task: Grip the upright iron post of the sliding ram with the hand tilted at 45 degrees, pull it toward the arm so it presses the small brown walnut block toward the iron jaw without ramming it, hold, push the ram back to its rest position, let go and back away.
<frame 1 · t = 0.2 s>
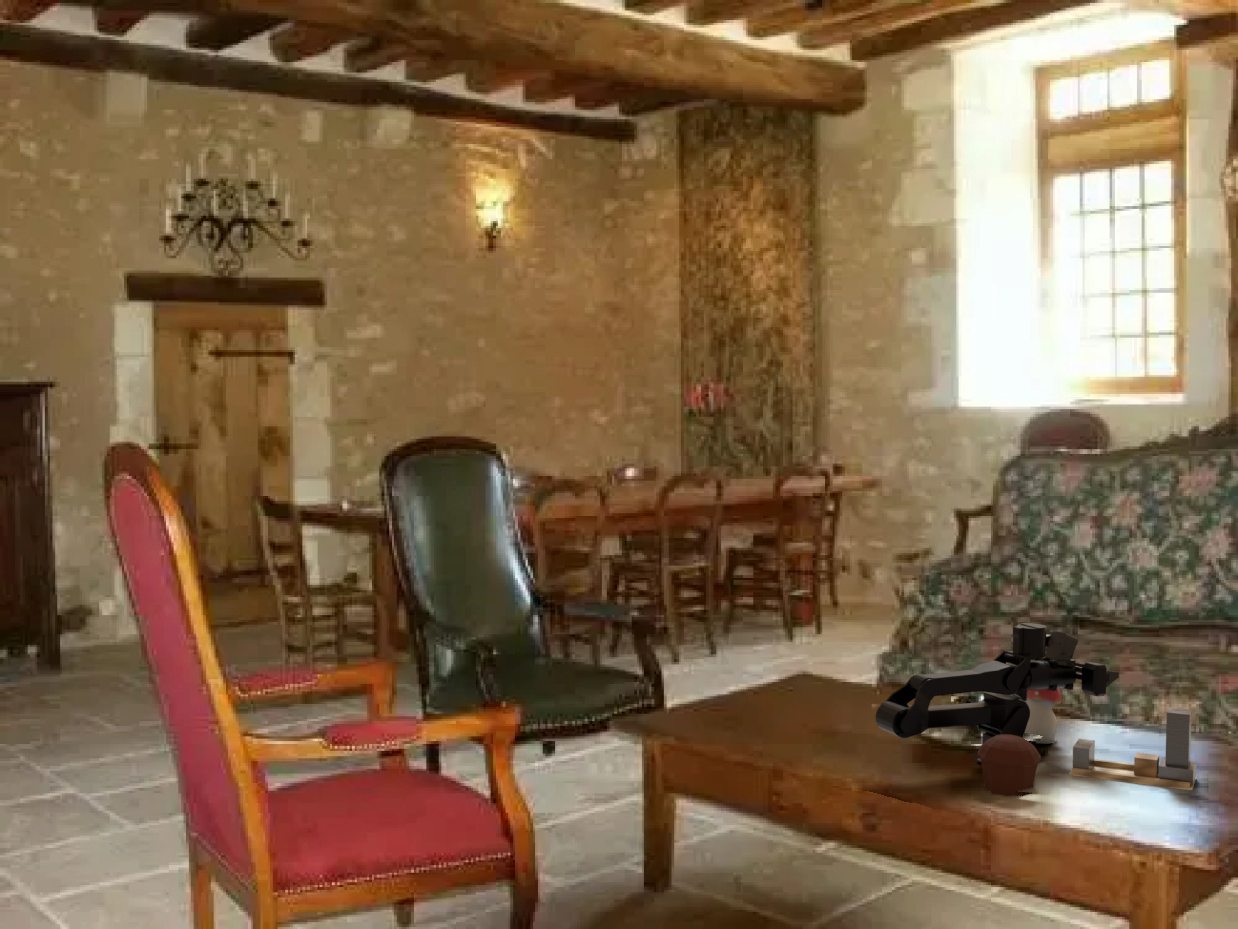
hand: (1102, 671, 287), 17 cm above the table, tool horizontal, fingers open, 9 cm apart
walnut block: (1146, 777, 266), point 1 cm above the table, touching wooden tray
muffin: (1008, 790, 262), on the table
wooden tray: (1132, 781, 267), on the table
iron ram: (1178, 745, 263), point 8 cm above the table, slide at 0.0 cm
decorative ornament: (1039, 742, 295), on the table, touching gripper
iron jaw: (1083, 775, 272), resting on wooden tray
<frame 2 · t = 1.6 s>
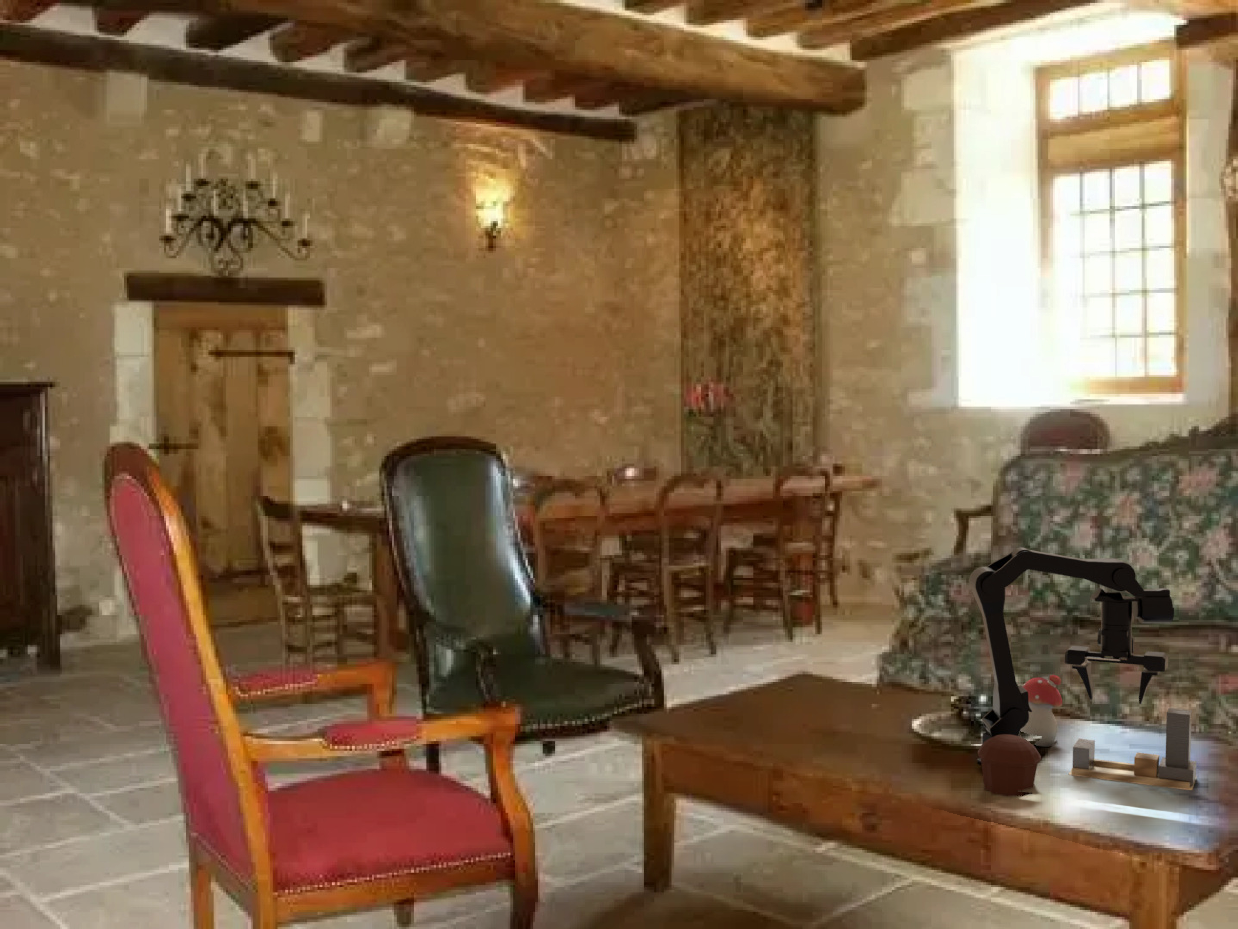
hand: (1115, 701, 277), 13 cm above the table, tool pointing down, fingers open, 9 cm apart
decorative ornament: (1039, 744, 295), on the table
everything else where it was.
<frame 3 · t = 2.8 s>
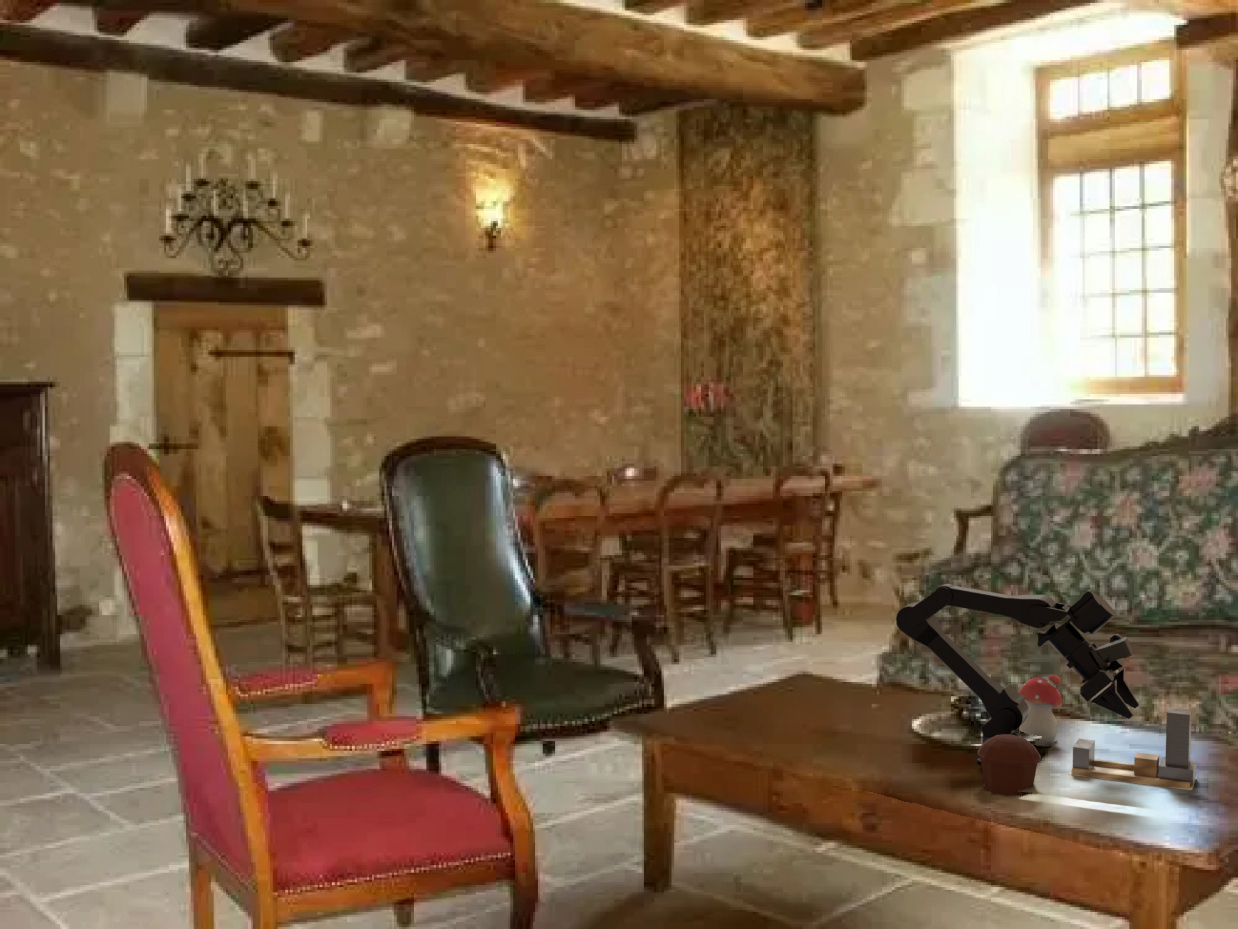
hand: (1134, 712, 267), 13 cm above the table, tool tilted 45°, fingers open, 9 cm apart
nothing on the table moved.
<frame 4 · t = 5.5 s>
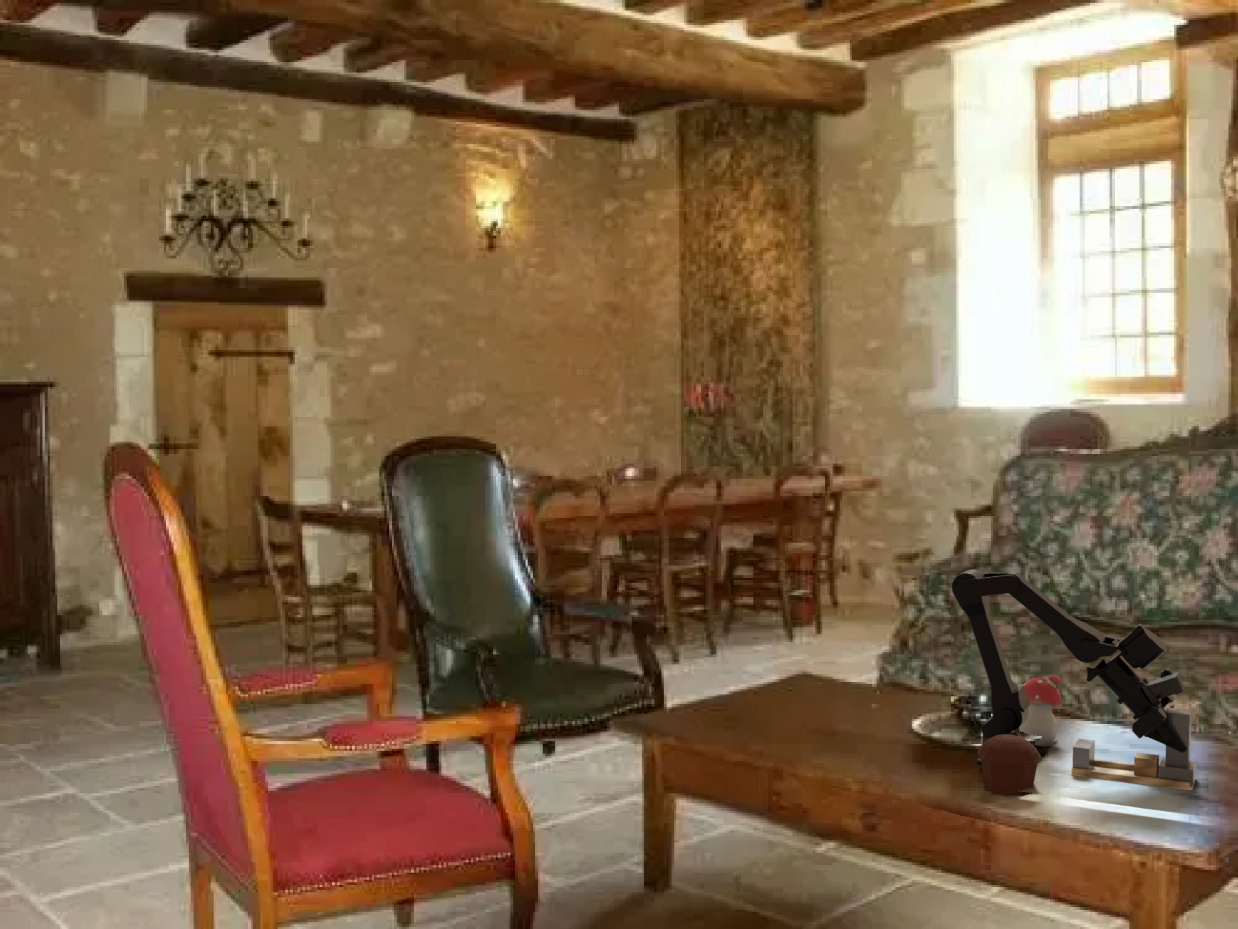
hand: (1186, 748, 263), 8 cm above the table, tool tilted 45°, fingers closed on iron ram, 4 cm apart
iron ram: (1178, 745, 263), point 8 cm above the table, slide at 0.0 cm, touching gripper
everything else where it was.
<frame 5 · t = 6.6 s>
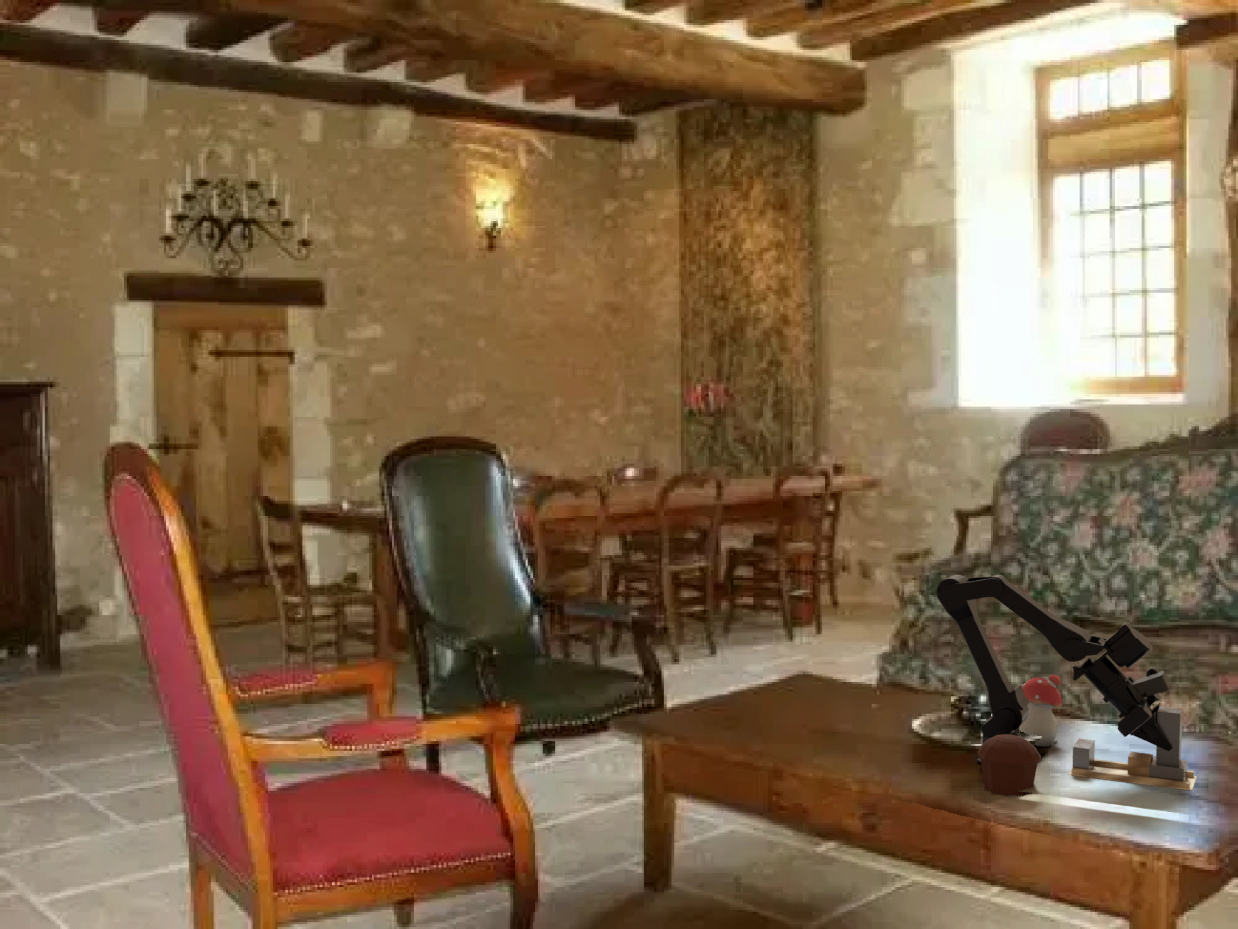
hand: (1171, 746, 264), 8 cm above the table, tool tilted 45°, fingers closed on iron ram, 4 cm apart
walnut block: (1139, 776, 267), point 1 cm above the table, touching wooden tray
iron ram: (1169, 744, 264), point 8 cm above the table, slide at 1.6 cm, touching gripper
everything else where it was.
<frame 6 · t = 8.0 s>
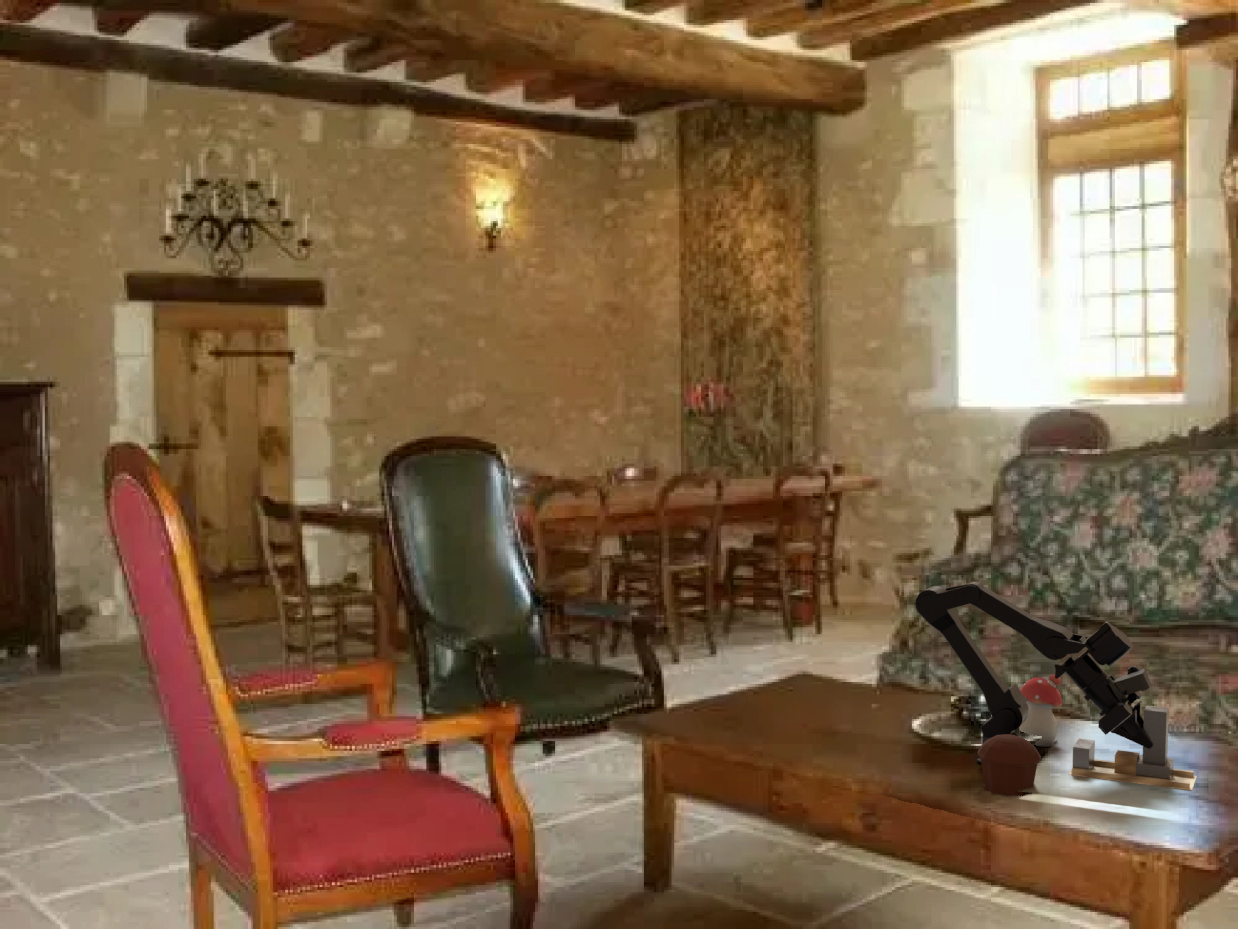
hand: (1152, 744, 265), 8 cm above the table, tool tilted 45°, fingers closed on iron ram, 4 cm apart
walnut block: (1126, 774, 268), point 1 cm above the table, touching wooden tray, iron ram
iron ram: (1155, 742, 265), point 8 cm above the table, slide at 4.0 cm, touching gripper, walnut block
everything else where it was.
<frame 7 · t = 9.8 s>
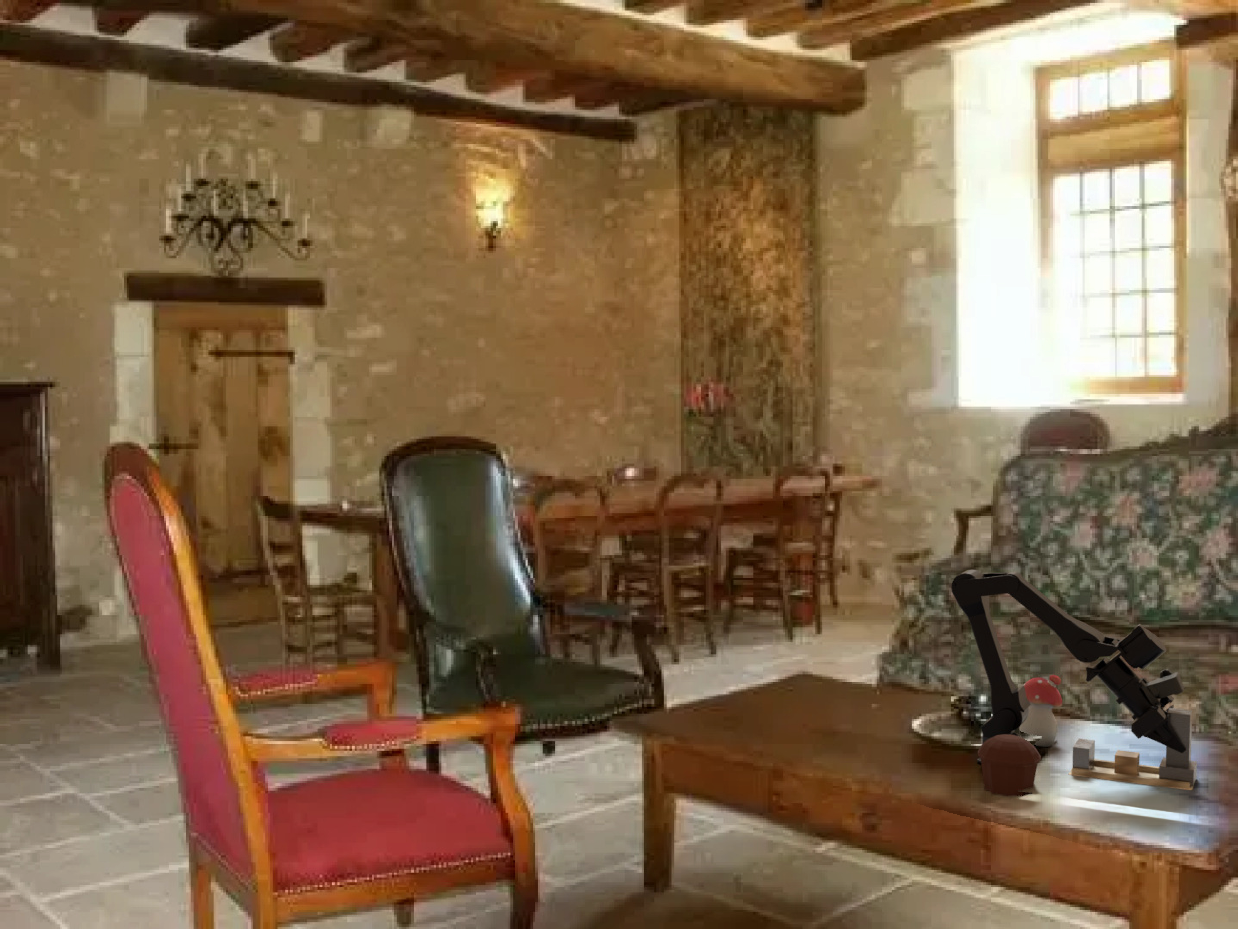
hand: (1185, 748, 263), 8 cm above the table, tool tilted 45°, fingers closed on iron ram, 4 cm apart
walnut block: (1126, 774, 268), point 1 cm above the table, touching wooden tray
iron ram: (1178, 745, 263), point 8 cm above the table, slide at -0.1 cm, touching gripper
everything else where it was.
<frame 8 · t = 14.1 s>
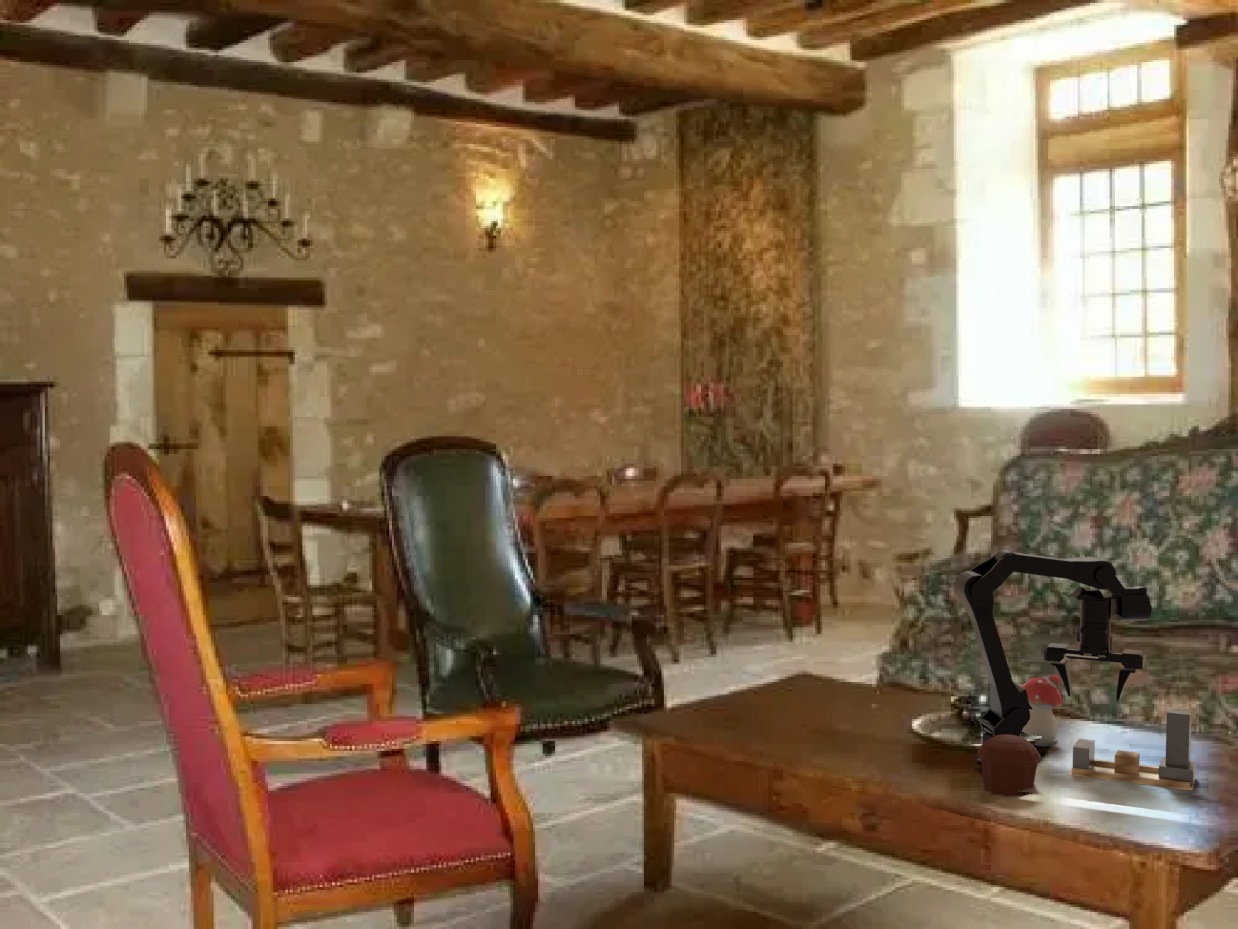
hand: (1093, 698, 279), 13 cm above the table, tool pointing down, fingers open, 9 cm apart
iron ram: (1178, 745, 263), point 8 cm above the table, slide at 0.0 cm
everything else where it was.
at the end: walnut block moved 3.5 cm from its start; walnut block touching wooden tray; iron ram slide at 0.0 cm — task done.
